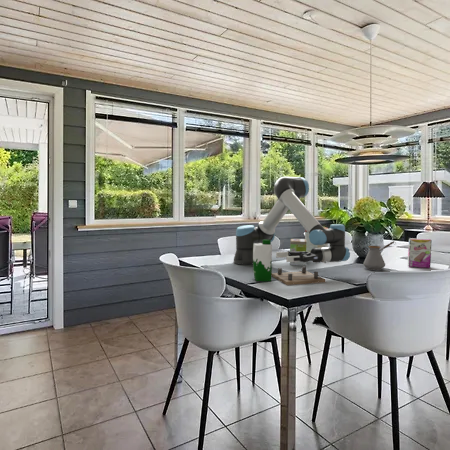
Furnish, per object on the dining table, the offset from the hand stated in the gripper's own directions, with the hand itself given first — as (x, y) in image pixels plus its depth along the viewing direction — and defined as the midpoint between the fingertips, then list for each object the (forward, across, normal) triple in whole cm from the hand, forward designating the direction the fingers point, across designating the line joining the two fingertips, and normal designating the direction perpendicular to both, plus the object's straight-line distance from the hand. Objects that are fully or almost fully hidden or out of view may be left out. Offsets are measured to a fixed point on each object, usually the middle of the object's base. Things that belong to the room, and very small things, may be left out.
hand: (281, 257), depth 178 cm
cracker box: (-46, +51, -11) cm, 69 cm away
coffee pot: (-64, +10, -11) cm, 66 cm away
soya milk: (+10, 0, -11) cm, 15 cm away
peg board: (-7, -3, -11) cm, 14 cm away
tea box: (-26, +38, -11) cm, 48 cm away
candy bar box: (-87, +7, -11) cm, 88 cm away
